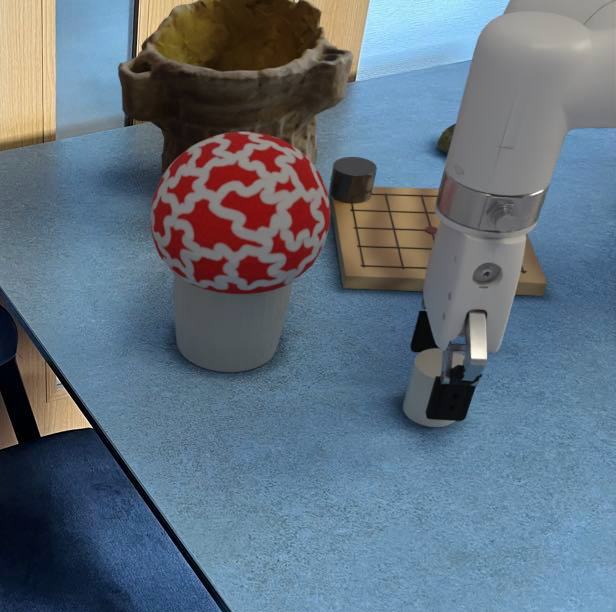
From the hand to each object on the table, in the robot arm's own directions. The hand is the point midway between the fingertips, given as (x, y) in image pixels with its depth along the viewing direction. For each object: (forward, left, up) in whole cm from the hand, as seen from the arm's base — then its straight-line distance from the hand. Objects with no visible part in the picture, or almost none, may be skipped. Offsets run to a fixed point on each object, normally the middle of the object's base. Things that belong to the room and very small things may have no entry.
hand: (435, 383), depth 89 cm
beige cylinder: (0, 0, -3) cm, 3 cm away
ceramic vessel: (+19, -39, -3) cm, 44 cm away
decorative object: (+18, -9, -3) cm, 20 cm away
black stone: (+4, -38, -2) cm, 38 cm away
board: (-4, -30, -3) cm, 31 cm away
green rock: (-14, -54, -3) cm, 56 cm away
